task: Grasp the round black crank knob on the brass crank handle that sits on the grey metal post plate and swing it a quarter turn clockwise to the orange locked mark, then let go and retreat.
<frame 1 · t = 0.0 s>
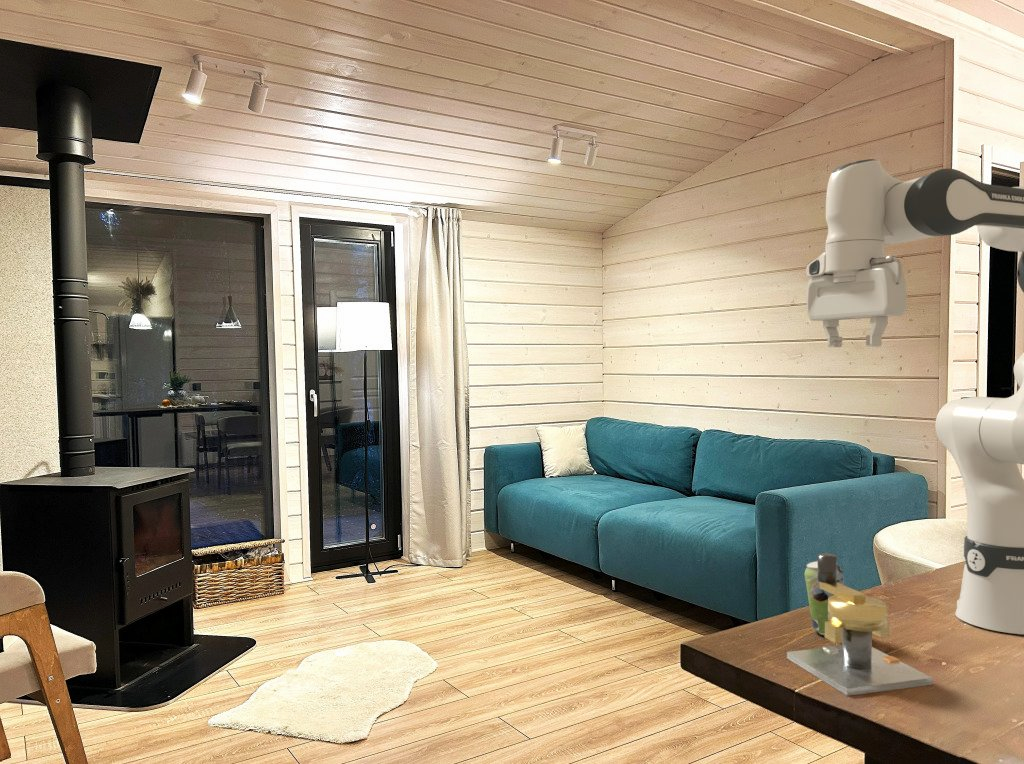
hand: (853, 347, 129), 48 cm above the table, fingers open, 8 cm apart
brass crank handle: (856, 670, 117), resting on post plate, hinge at 0.0°
beverage can: (827, 634, 133), on the table
post plate: (856, 670, 117), on the table
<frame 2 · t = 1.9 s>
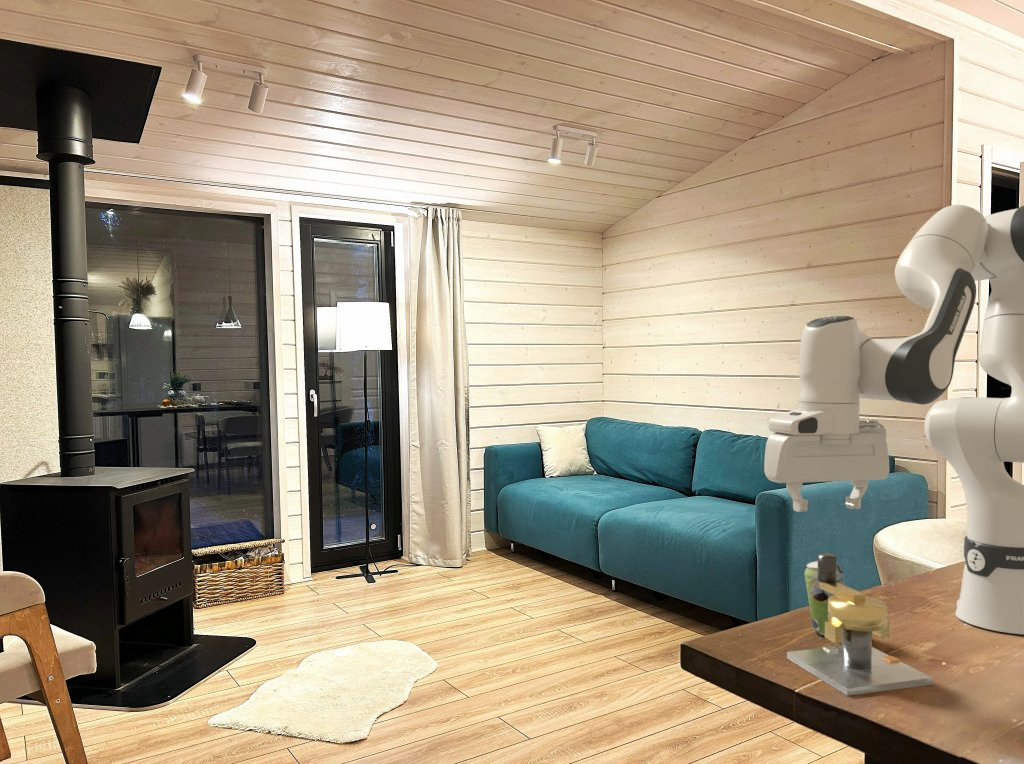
hand: (826, 509, 123), 23 cm above the table, fingers open, 8 cm apart
nothing on the table moved.
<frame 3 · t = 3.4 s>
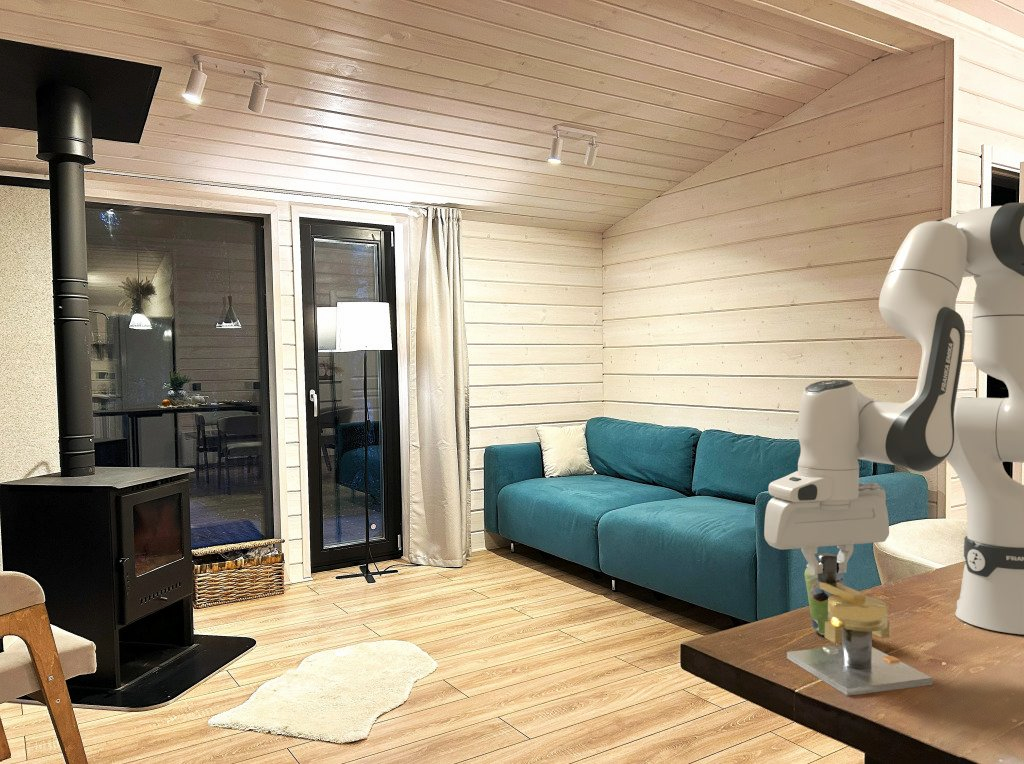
hand: (827, 573, 124), 13 cm above the table, fingers closed on brass crank handle, 3 cm apart
brass crank handle: (856, 670, 117), resting on post plate, hinge at 0.1°, touching gripper
everything else where it was.
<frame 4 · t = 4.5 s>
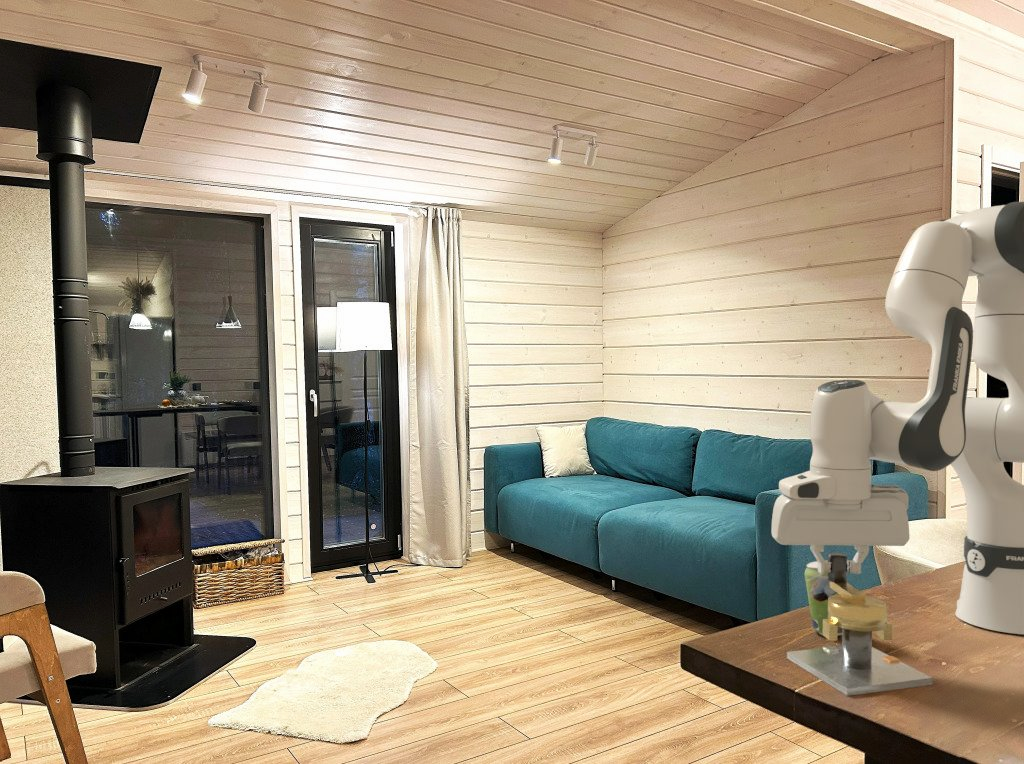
hand: (839, 572, 124), 13 cm above the table, fingers open, 3 cm apart
brass crank handle: (856, 670, 117), resting on post plate, hinge at 13.9°, touching gripper
everything else where it was.
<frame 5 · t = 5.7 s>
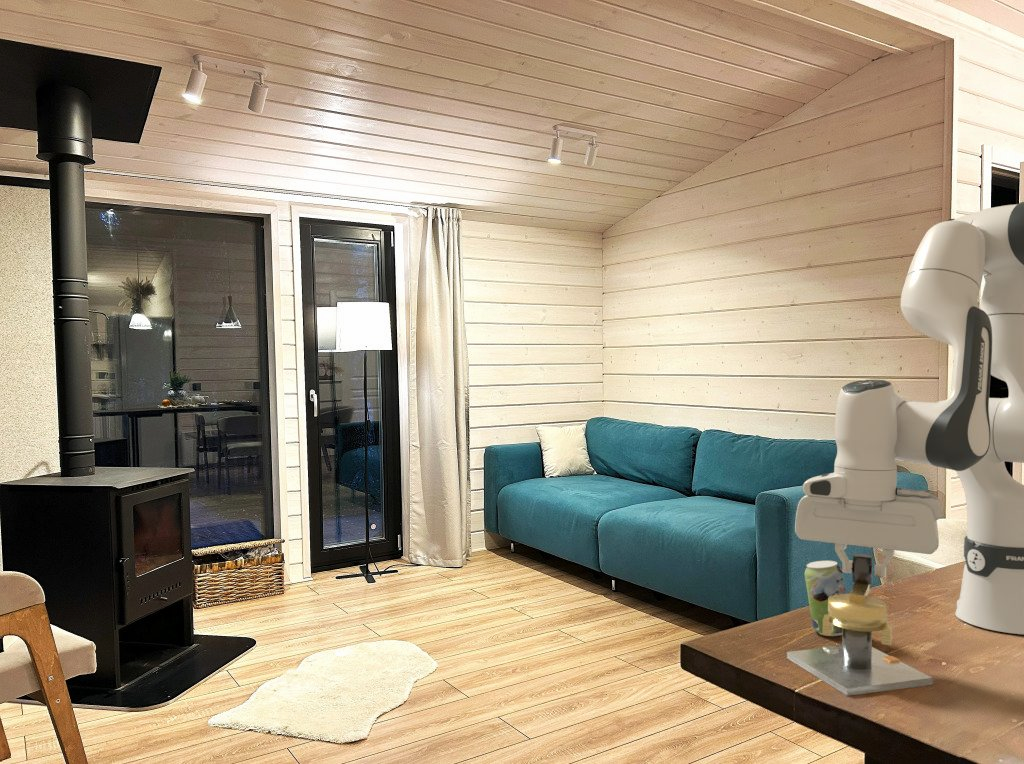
hand: (864, 574, 123), 13 cm above the table, fingers open, 3 cm apart
brass crank handle: (856, 670, 117), resting on post plate, hinge at 43.9°, touching gripper
everything else where it was.
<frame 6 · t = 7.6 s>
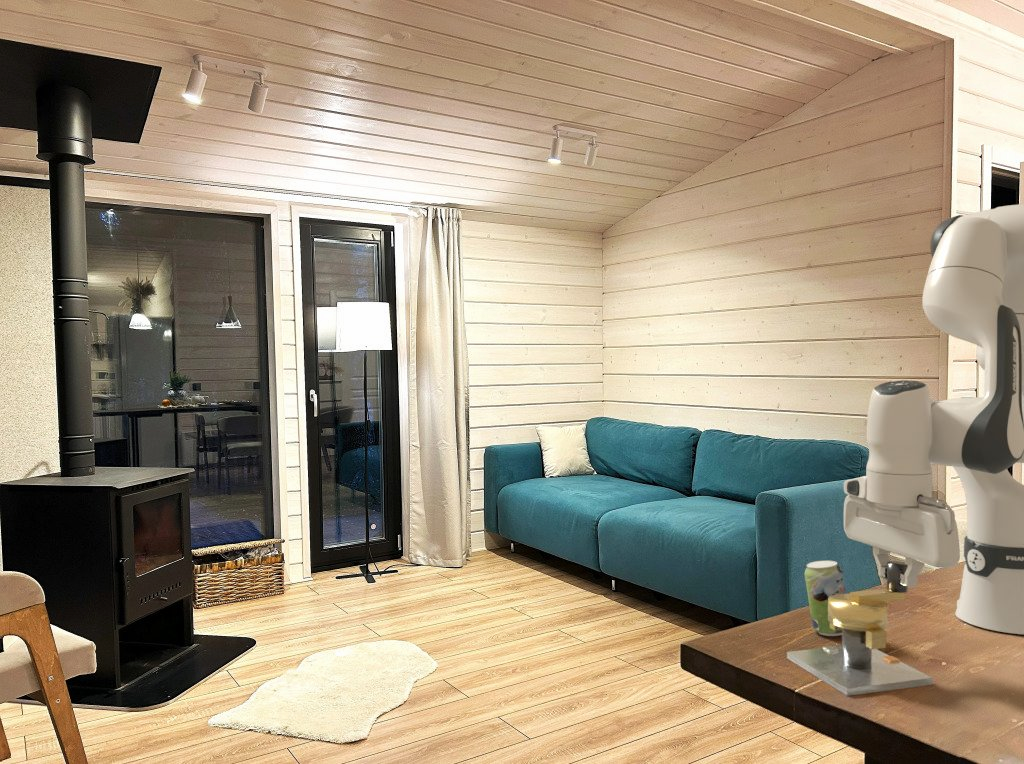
hand: (897, 582, 119), 13 cm above the table, fingers open, 3 cm apart
brass crank handle: (856, 670, 117), resting on post plate, hinge at 89.4°
everything else where it was.
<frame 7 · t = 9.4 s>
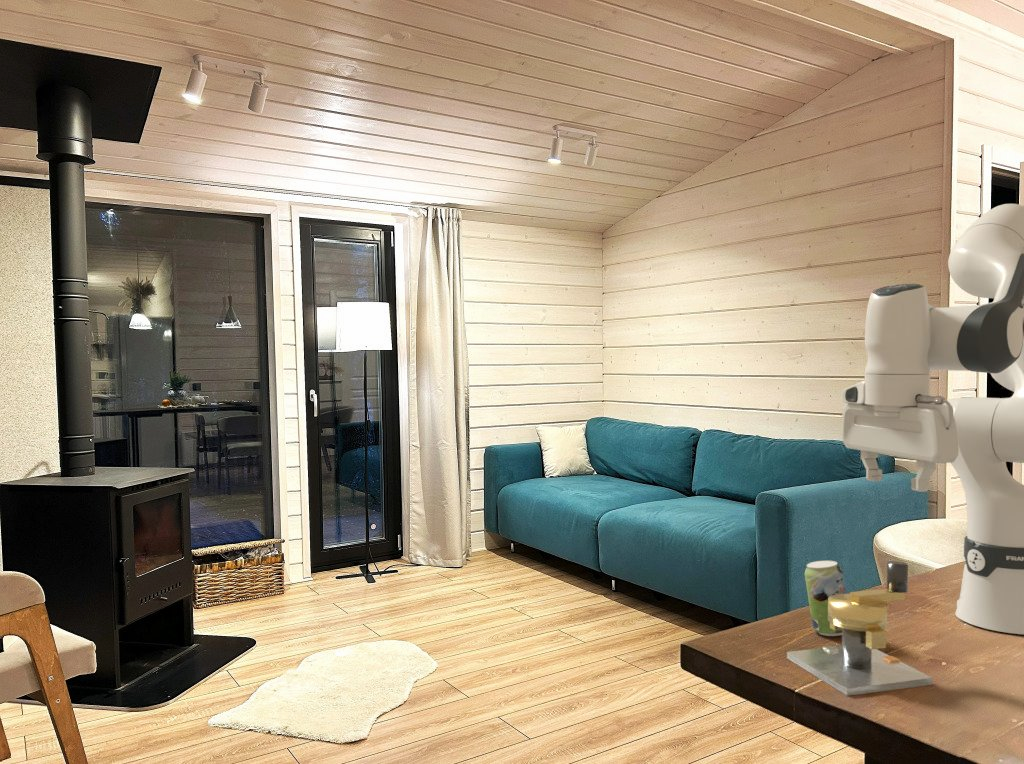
hand: (896, 485, 119), 27 cm above the table, fingers open, 8 cm apart
nothing on the table moved.
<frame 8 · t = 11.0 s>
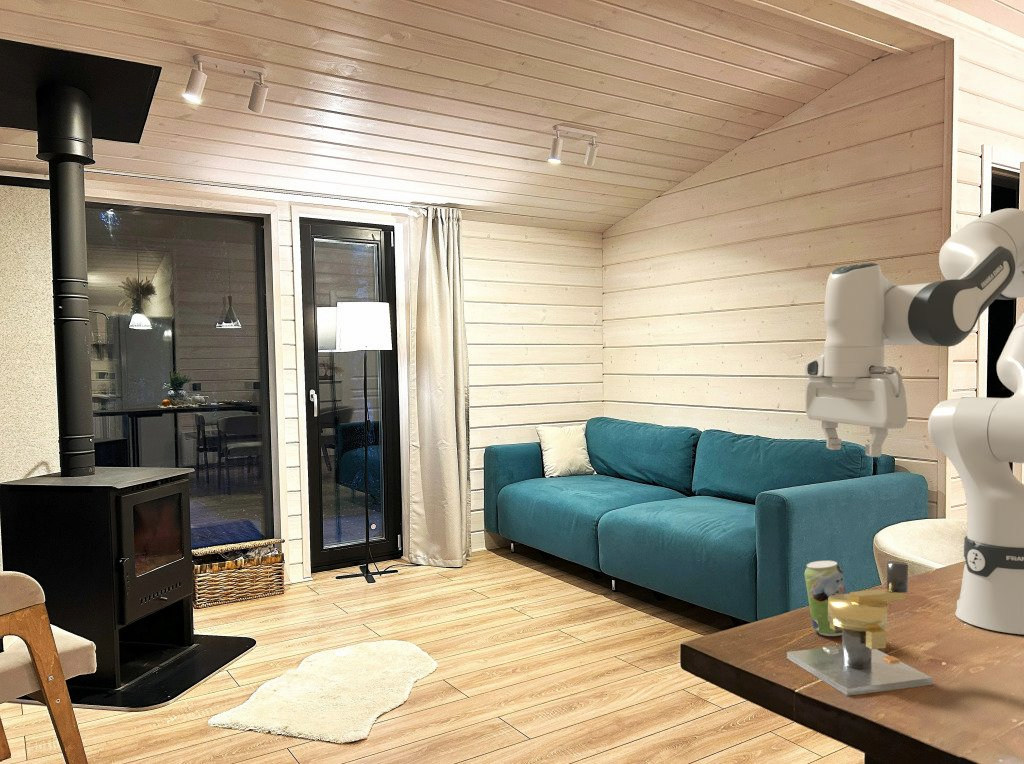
hand: (852, 452, 127), 31 cm above the table, fingers open, 8 cm apart
nothing on the table moved.
at the end: brass crank handle at +90° (first picture: +0°); the gripper is holding nothing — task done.
